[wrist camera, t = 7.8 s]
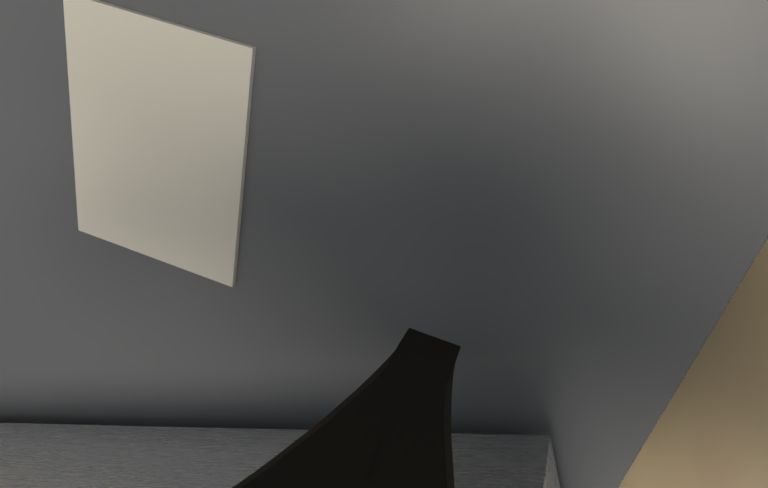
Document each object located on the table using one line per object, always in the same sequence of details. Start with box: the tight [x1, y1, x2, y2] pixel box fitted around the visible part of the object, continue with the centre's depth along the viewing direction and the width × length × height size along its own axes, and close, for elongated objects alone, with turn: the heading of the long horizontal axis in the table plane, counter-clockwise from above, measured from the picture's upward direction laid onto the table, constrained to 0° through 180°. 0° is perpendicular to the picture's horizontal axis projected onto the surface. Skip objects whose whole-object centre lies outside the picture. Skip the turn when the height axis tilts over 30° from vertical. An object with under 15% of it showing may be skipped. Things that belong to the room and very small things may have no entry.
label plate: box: [0, 0, 768, 488], centre depth 12 cm, size 16×17×1 cm
